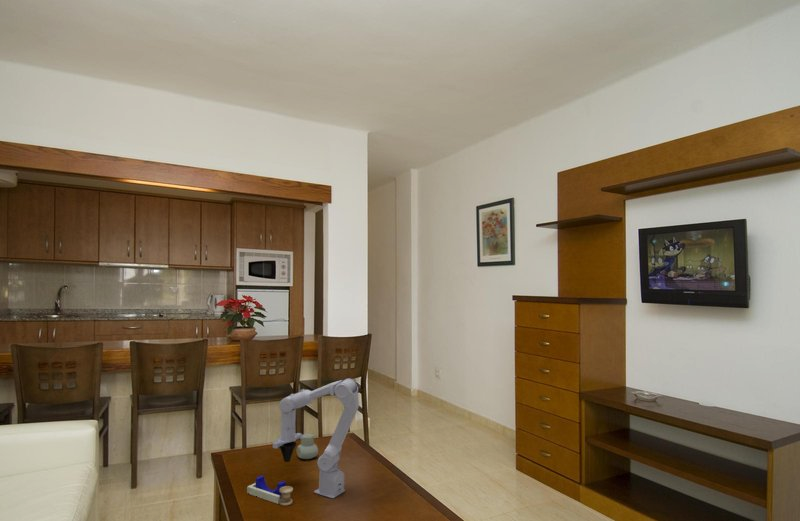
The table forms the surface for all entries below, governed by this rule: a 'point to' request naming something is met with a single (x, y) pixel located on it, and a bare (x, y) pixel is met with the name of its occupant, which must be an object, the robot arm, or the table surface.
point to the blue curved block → (262, 485)
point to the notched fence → (263, 494)
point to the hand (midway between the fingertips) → (286, 461)
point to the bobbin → (286, 495)
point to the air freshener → (307, 447)
